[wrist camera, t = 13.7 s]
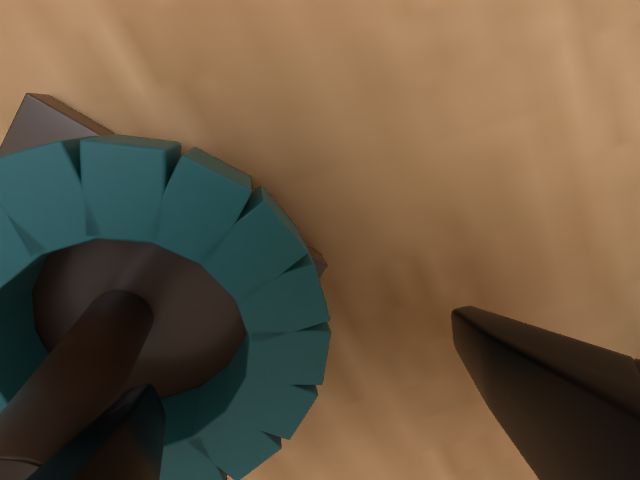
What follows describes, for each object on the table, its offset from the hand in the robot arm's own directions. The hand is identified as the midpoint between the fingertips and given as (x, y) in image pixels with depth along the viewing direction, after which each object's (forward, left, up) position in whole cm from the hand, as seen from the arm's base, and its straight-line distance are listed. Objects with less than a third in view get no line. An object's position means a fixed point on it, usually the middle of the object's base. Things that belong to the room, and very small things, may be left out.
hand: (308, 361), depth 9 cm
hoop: (+3, +3, -5) cm, 7 cm away
